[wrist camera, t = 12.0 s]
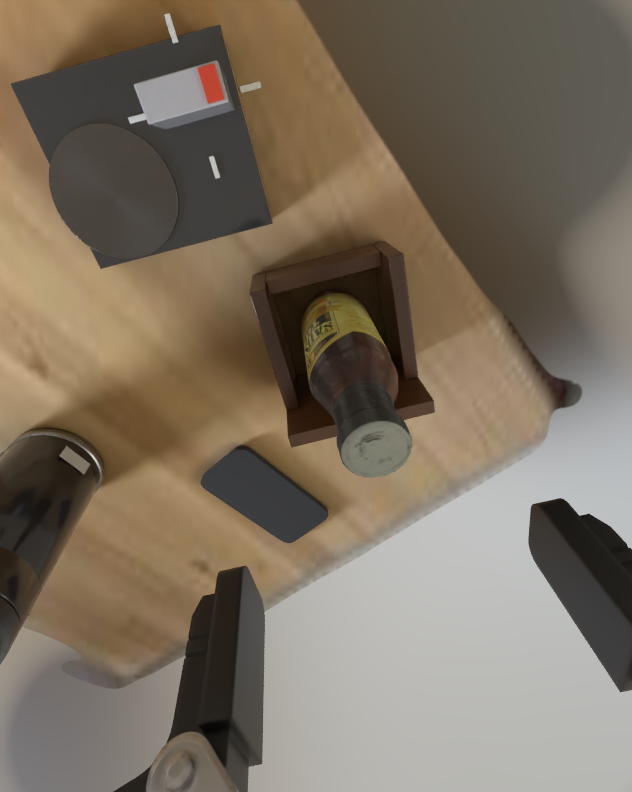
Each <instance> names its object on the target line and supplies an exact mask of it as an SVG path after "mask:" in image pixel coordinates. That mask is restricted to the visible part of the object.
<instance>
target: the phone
mask: <svg viewBox="0 0 632 792" xmlns="http://www.w3.org/2000/svg"><path fill="white" fill-rule="evenodd" d="M201 485H202V486H203V488H204V489H206V490H207V491H209V492H210V493H212V494H213V495H215V496H216V497H218V498H219V499H220V500H222V501H223V502H225V503H226V504H228V505H229V506H231V507H232V508H234V509H235V510H237V511H238V512H240V513H241V514H243V515H244V516H246V517H247V518H249V519H250V520H252V521H253V522H255V523H256V524H258V525H259V526H261V527H262V528H263V529H265V530H266V531H268V532H269V533H271V534H272V535H274V536H275V537H277V538H278V539H280V540H281V541H283V542H286V543H291V542H294V541H296V540H297V539H299V538H300V537H302V536H303V535H305V534H306V533H307V532H309V531H310V530H312V529H313V528H314V527H316V526H317V525H319V524H320V523H322V522H323V521H324V520H326V518H327V517H328V510H327V508H326V507H325V506H324V505H323V504H321V503H320V502H319V501H318V500H316V499H315V498H314V497H312V496H311V495H310V494H309V493H307V492H306V491H305V490H303V489H302V488H301V487H300V486H298V485H297V484H296V483H294V482H293V481H292V480H291V479H289V478H288V477H287V476H285V475H284V474H283V473H282V472H280V471H279V470H278V469H276V468H275V467H274V466H272V465H271V464H270V463H269V462H267V461H266V460H265V459H263V458H262V457H261V456H260V455H258V454H257V453H256V452H254V451H253V450H252V449H250V448H249V447H246V446H239V447H237V448H235V449H234V450H232V451H231V452H230V453H229V454H227V455H226V456H225V457H224V458H223V459H221V460H220V461H219V462H218V463H217V464H215V465H214V466H213V467H212V468H211V469H210V470H208V471H207V472H206V473H205V474H204V475H203V476H202V480H201Z"/></svg>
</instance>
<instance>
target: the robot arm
mask: <svg viewBox="0 0 632 792" xmlns="http://www.w3.org/2000/svg"><path fill="white" fill-rule="evenodd" d="M104 472H105V471H104V464H103V461H102V458H101V457H100V455H99V453H98V452H97V451H96V450H95V448H94V447H93V446H92V445H90V444H89V443H88V442H87V441H85V440H84V439H82V438H80V437H78V436H76V435H74V434H72V433H69V432H66V431H62V430H57V429H36V430H32V431H29V432H26V433H24V434H22V435H21V436H19V437H18V438H17V439H16V440H15V441H14V442H13V443H12V444H11V445H10V446H9V447H8V449H7V450H6V451H5V452H2V453H1V454H0V664H1V663H2V661H3V660H4V658H5V657H6V655H7V653H8V652H9V650H10V648H11V646H12V644H13V642H14V640H15V639H16V637H17V635H18V633H19V631H20V629H21V627H22V625H23V624H24V622H25V620H26V618H27V616H28V614H29V613H30V611H31V609H32V607H33V605H34V603H35V601H36V600H37V598H38V596H39V594H40V592H41V590H42V588H43V586H44V585H45V583H46V581H47V579H48V577H49V576H50V574H51V572H52V570H53V568H54V566H55V565H56V563H57V561H58V559H59V557H60V555H61V554H62V552H63V550H64V548H65V546H66V544H67V543H68V541H69V539H70V537H71V535H72V533H73V532H74V530H75V528H76V526H77V524H78V522H79V521H80V519H81V517H82V515H83V513H84V511H85V510H86V508H87V506H88V504H89V502H90V501H91V499H92V497H93V495H94V493H95V492H96V491H97V490H98V488H99V486H100V484H101V482H102V480H103V478H104ZM529 547H530V551H531V554H532V556H533V559H534V561H535V563H536V564H537V566H538V567H539V569H540V570H541V572H542V573H543V575H544V576H545V578H546V580H547V581H548V583H549V584H550V586H551V587H552V589H553V590H554V592H555V593H556V594H557V596H558V598H559V599H560V601H561V602H562V604H563V605H564V607H565V608H566V610H567V611H568V613H569V615H570V616H571V618H572V619H573V621H574V622H575V624H576V625H577V627H578V628H579V630H580V631H581V633H582V634H583V636H584V637H585V639H586V640H587V642H588V643H589V645H590V647H591V648H592V649H593V651H594V653H595V654H596V655H597V657H598V659H599V660H600V662H601V663H602V665H603V666H604V668H605V669H606V671H607V672H608V674H609V675H610V677H611V678H612V680H613V682H614V683H615V685H616V686H617V688H618V689H619V691H620V692H623V691H629V690H632V549H631V548H628V547H627V544H626V543H625V542H624V541H623V540H622V538H621V537H620V536H619V535H618V534H617V533H616V532H615V531H614V530H613V529H612V528H611V527H610V526H608V525H607V524H605V523H603V522H602V521H600V520H599V519H597V518H595V517H594V516H592V515H590V514H586V515H582V516H579V515H578V514H577V513H576V511H575V510H574V509H573V508H572V507H571V506H570V505H569V503H568V502H567V501H565V500H564V499H561V498H559V499H555V500H550V501H546V502H541V503H536V504H533V505H532V506H531V514H530V527H529ZM264 633H265V615H264V607H263V602H262V599H261V596H260V594H259V592H258V589H257V587H256V585H255V583H254V580H253V578H252V576H251V574H250V571H249V569H248V567H247V566H242V567H237V568H232V569H228V570H223V571H220V572H219V573H218V576H217V582H216V589H215V594H211V595H206V596H203V597H202V599H201V600H200V602H199V604H198V606H197V608H196V610H195V612H194V613H193V615H192V620H191V625H190V631H189V636H188V637H189V641H188V642H187V647H186V653H185V655H186V658H185V659H184V665H183V670H182V675H181V681H180V686H179V693H178V697H177V703H176V709H175V714H174V720H173V725H172V729H171V733H170V736H169V738H168V741H167V743H166V745H165V746H164V747H163V748H162V749H161V751H160V752H159V754H158V755H157V757H156V758H155V760H154V762H153V764H152V765H151V766H150V767H149V768H148V769H147V770H146V771H145V772H143V773H142V774H141V775H139V776H138V777H136V778H135V779H133V780H131V781H130V782H128V783H127V784H125V785H124V786H122V787H120V788H119V789H117V790H115V791H114V792H247V790H248V767H249V766H254V765H259V764H262V742H263V690H264V688H263V687H264V684H263V683H264V635H265V634H264Z"/></svg>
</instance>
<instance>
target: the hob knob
mask: <svg viewBox="0 0 632 792" xmlns="http://www.w3.org/2000/svg"><path fill="white" fill-rule="evenodd" d="M134 87H135V90H136V93H137V95H138V98H139V101H140V103H141V106H142V109H143V112H144V114H145V117H146V120H147V122H148V124H150V125H153V126H156V127H159V128H163V129H170V128H173V127H177V126H181V125H184V124H188V123H191V122H195V121H198V120H202V119H205V118H209V117H213V116H216V115H220V114H223V113H227V112H230V111H234V110H235V108H234V104H233V101H232V97H231V93H230V90H229V86H228V83H227V79H226V76H225V74H224V72H223V70H222V68H221V66H220V65H219V63H218V61H217V60H215V61H212V62H208V63H205V64H201V65H198V66H194V67H191V68H187V69H184V70H180V71H177V72H173V73H170V74H166V75H163V76H159V77H156V78H152V79H149V80H145V81H142V82H138V83H135V84H134Z"/></svg>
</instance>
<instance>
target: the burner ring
mask: <svg viewBox="0 0 632 792" xmlns="http://www.w3.org/2000/svg"><path fill="white" fill-rule="evenodd" d="M49 183H50V190H51V194H52V198H53V201H54V204H55V206H56V208H57V211H58V213H59V214H60V216H61V218H62V219H63V221H64V222H65V224H66V225H67V226H68V228H69V229H70V230H71V231H72V232H73V233H74V234H75V235H76V236H77V237H78V238H79V239H80V240H81V241H82V242H84V243H85V244H86V245H88V246H89V247H91V248H93V249H94V250H96V251H98V252H101V253H103V254H105V255H108V256H112V257H117V258H125V259H130V258H139V257H143V256H146V255H149V254H151V253H153V252H155V251H156V250H157V249H159V248H160V247H161V246H162V245H163V244H164V243H165V242H166V241H167V240H168V239H169V237H170V236H171V234H172V232H173V230H174V228H175V225H176V222H177V218H178V210H179V202H178V193H177V188H176V185H175V181H174V179H173V176H172V174H171V172H170V170H169V168H168V166H167V164H166V163H165V161H164V160H163V158H162V157H161V156H160V154H159V153H158V152H157V151H156V150H155V149H154V148H153V147H152V146H151V145H150V144H149V143H148V142H147V141H146V140H144V139H143V138H141V137H140V136H139V135H137V134H135V133H133V132H132V131H130V130H127V129H125V128H122V127H119V126H116V125H112V124H104V123H95V124H88V125H84V126H81V127H79V128H76V129H75V130H73V131H71V132H70V133H68V134H67V135H66V136H65V137H64V138H63V139H62V140H61V141H60V143H59V144H58V146H57V147H56V149H55V151H54V153H53V156H52V159H51V163H50V170H49Z"/></svg>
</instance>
